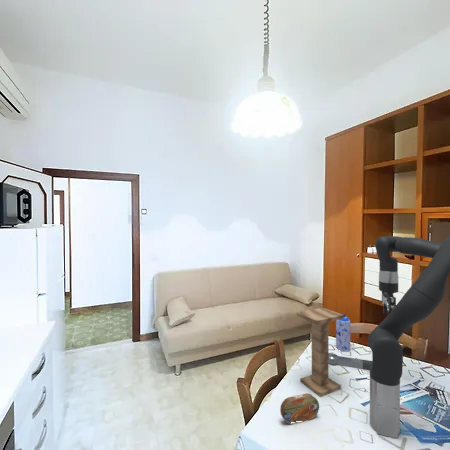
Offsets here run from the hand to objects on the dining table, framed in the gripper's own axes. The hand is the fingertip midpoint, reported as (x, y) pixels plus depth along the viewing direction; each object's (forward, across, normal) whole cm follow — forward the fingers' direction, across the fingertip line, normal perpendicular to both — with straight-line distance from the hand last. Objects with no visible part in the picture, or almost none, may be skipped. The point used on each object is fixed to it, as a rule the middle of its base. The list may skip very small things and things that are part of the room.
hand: (388, 316), depth 121 cm
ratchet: (+30, +12, +14) cm, 35 cm away
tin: (+30, -35, +37) cm, 59 cm away
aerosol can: (+30, +30, +16) cm, 46 cm away
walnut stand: (+30, -11, +29) cm, 43 cm away
